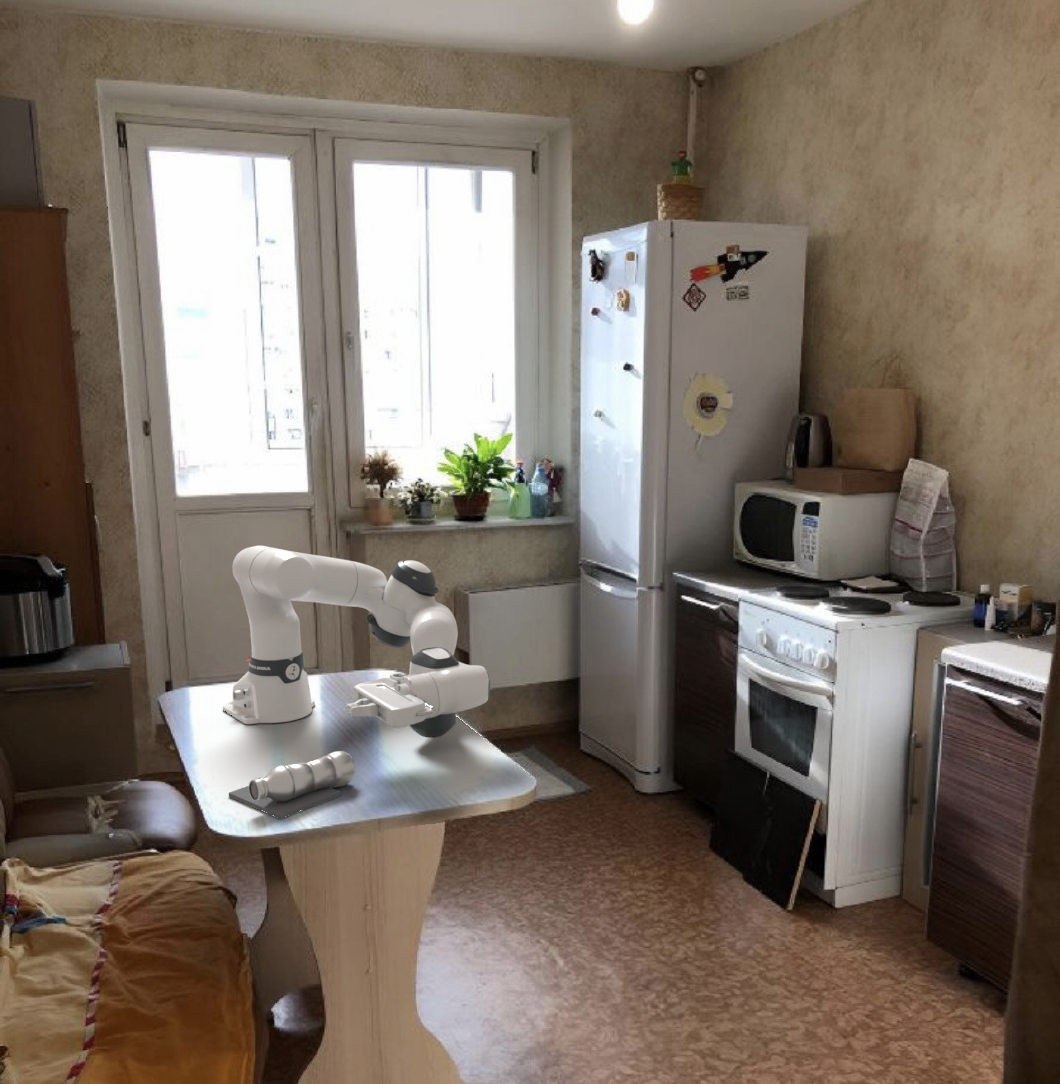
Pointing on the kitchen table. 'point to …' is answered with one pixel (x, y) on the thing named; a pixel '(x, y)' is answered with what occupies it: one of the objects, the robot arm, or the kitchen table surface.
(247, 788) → the mat
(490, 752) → the kitchen table surface
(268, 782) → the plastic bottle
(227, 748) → the kitchen table surface
